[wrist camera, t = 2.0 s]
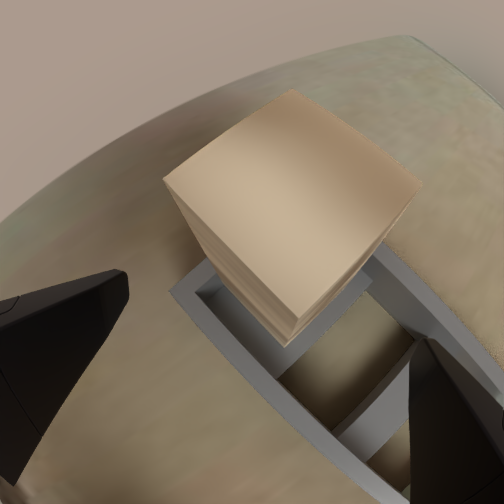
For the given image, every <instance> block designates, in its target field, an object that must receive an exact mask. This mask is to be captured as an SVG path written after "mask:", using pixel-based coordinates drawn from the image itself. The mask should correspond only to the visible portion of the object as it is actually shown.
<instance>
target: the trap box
mask: <svg viewBox="0 0 504 504" xmlns="http://www.w3.org/2000/svg"><path fill="white" fill-rule="evenodd" d="M365 290H366V291H367V292H368V293H369V294H370V295H371V296H372V297H373V298H374V299H375V300H376V301H377V302H378V303H379V304H380V305H381V306H382V307H383V308H384V309H385V310H386V311H387V312H388V313H389V314H390V315H391V316H392V317H393V318H394V319H395V320H396V321H397V322H398V323H399V324H400V325H401V326H402V327H403V328H404V329H405V330H406V331H407V332H408V333H409V334H410V335H411V336H412V337H413V338H414V339H415V341H414V342H413V344H412V345H411V346H410V347H409V349H408V350H407V351H406V352H405V353H404V355H403V356H402V357H401V358H400V360H399V361H398V362H397V363H396V364H395V365H394V367H393V368H392V369H391V370H390V371H389V372H388V374H387V375H386V376H385V377H384V378H383V379H382V380H381V381H380V383H379V384H378V385H377V386H376V387H375V388H374V389H373V390H372V391H371V392H370V393H369V394H368V396H367V397H366V398H365V399H364V400H363V401H362V402H361V403H360V404H359V405H358V406H357V407H356V408H355V409H354V410H353V411H352V412H351V413H350V414H349V415H348V416H347V417H346V418H345V419H344V420H343V421H342V422H341V423H340V424H339V425H338V426H337V427H335V428H334V429H333V430H332V431H330V430H329V429H328V428H327V427H326V426H325V425H324V424H323V423H322V422H321V421H320V420H318V419H317V418H316V417H315V416H314V415H313V414H312V413H311V412H310V411H309V410H308V409H307V408H306V407H305V406H304V405H303V404H302V403H301V402H300V401H299V400H298V399H297V398H296V397H295V396H294V395H293V394H292V393H291V392H290V391H289V390H288V389H287V388H286V387H285V386H284V385H283V384H282V383H281V382H280V381H279V380H278V379H277V378H278V377H279V376H281V375H282V374H283V373H284V372H285V371H286V370H287V369H288V368H289V367H290V366H291V365H292V364H293V363H295V362H296V361H297V360H298V359H299V358H300V357H301V356H302V355H303V354H304V353H305V352H306V351H307V350H308V349H309V348H310V347H311V346H312V345H313V344H314V343H315V342H316V341H317V340H318V339H319V338H320V337H321V336H322V335H323V334H324V333H325V332H326V331H327V330H328V329H329V328H330V327H331V326H332V325H333V324H334V323H335V322H336V321H337V320H338V319H339V318H340V317H341V316H342V315H343V314H344V313H345V311H346V310H347V309H348V308H349V307H350V306H351V305H352V304H353V303H354V302H355V301H356V300H357V299H358V297H359V296H360V295H361V294H362V293H363V292H364V291H365ZM169 292H170V294H171V295H172V296H173V297H174V299H175V300H176V301H177V302H178V303H179V305H180V306H181V307H182V308H183V309H184V311H185V312H186V313H187V314H188V315H189V317H190V318H191V319H192V320H193V321H194V322H195V324H196V325H197V326H198V327H199V328H200V329H201V331H202V332H203V333H204V334H205V335H206V336H207V338H208V339H209V340H210V341H211V342H212V343H213V344H214V345H215V347H216V348H217V349H218V350H219V351H220V352H221V353H222V354H223V355H224V357H225V358H226V359H227V360H228V361H229V362H230V363H231V364H232V365H233V366H234V367H235V369H236V370H237V371H238V372H239V373H240V374H241V375H242V376H243V377H244V378H245V379H246V380H247V381H248V382H249V383H250V384H251V386H252V387H253V388H254V389H255V390H256V391H257V392H258V393H259V394H260V395H261V396H262V397H263V398H264V399H265V400H266V401H267V402H268V403H269V404H270V405H271V406H272V407H273V408H274V409H275V410H276V411H277V412H278V413H279V414H280V415H281V416H282V417H283V418H284V419H285V420H286V421H287V422H288V423H289V424H290V425H291V426H292V427H294V428H295V429H296V430H297V431H298V432H299V433H300V434H301V435H302V436H303V437H304V438H305V439H306V440H307V441H308V442H309V443H311V444H312V445H313V446H314V447H315V448H316V449H317V450H318V451H319V452H320V453H322V454H323V455H324V456H325V457H326V458H327V459H328V460H329V461H330V462H332V463H333V464H334V465H335V466H336V467H337V468H338V469H340V470H341V471H342V472H343V473H344V474H345V475H347V476H348V477H349V478H350V479H351V480H353V481H354V482H355V483H356V484H357V485H359V486H360V487H361V488H362V489H363V490H365V491H366V492H367V493H368V494H370V495H371V496H372V497H373V498H375V499H376V500H377V501H379V502H380V503H381V504H410V484H409V485H408V486H407V487H406V488H405V489H404V490H403V491H402V492H400V491H398V490H397V489H396V488H395V487H394V486H392V485H391V484H390V483H389V482H388V481H386V480H385V479H384V478H383V477H382V476H380V475H379V474H378V473H377V472H376V471H375V470H373V469H372V468H371V467H370V466H369V465H368V464H367V463H365V462H366V461H367V460H369V459H370V458H371V457H372V456H373V455H374V454H375V453H376V452H377V451H378V450H379V449H380V448H381V447H382V446H383V445H384V444H385V443H386V442H387V441H388V440H389V439H390V438H391V436H392V435H393V434H394V433H395V432H396V431H397V430H398V429H399V428H400V427H401V426H402V425H403V423H404V422H405V421H406V420H407V419H408V418H409V413H408V398H409V362H410V359H411V356H412V354H413V353H414V351H415V349H416V347H417V345H418V343H419V341H420V340H421V339H422V338H424V337H426V338H433V339H435V340H437V341H438V342H439V343H440V344H441V345H442V346H443V347H444V348H445V349H446V350H447V351H448V352H449V353H450V354H451V355H452V356H453V357H454V358H455V359H456V360H457V361H458V362H459V363H460V364H461V365H462V366H463V367H464V368H465V369H466V370H467V371H468V372H469V373H470V374H471V375H472V376H473V377H474V378H475V379H476V380H477V381H478V382H479V383H480V384H481V385H482V386H483V387H484V388H485V389H486V390H487V391H488V392H489V393H490V394H491V395H492V396H493V397H494V398H495V399H496V401H497V402H498V403H499V404H500V405H501V406H502V407H503V410H504V372H503V370H502V369H501V368H500V366H499V365H498V364H497V363H496V362H495V360H494V359H493V358H492V357H491V355H490V354H489V353H488V352H487V351H486V349H485V348H484V347H483V346H482V345H481V343H480V342H479V341H478V340H477V339H476V338H475V337H474V335H473V334H472V333H471V332H470V331H469V330H468V329H467V327H466V326H465V325H464V324H463V323H462V322H461V321H460V320H459V318H458V317H457V316H456V315H455V314H454V313H453V312H452V311H451V310H450V309H449V308H448V306H447V305H446V304H445V303H444V302H443V301H442V300H441V299H440V298H439V297H438V296H437V295H436V294H435V293H434V292H433V291H432V290H431V289H430V288H429V287H428V285H427V284H426V283H425V282H424V281H423V280H422V279H421V278H420V277H419V276H418V275H417V274H416V273H415V272H414V271H413V270H412V269H411V268H410V267H409V266H408V265H407V264H406V263H404V262H403V261H402V260H401V259H400V258H399V257H398V256H397V255H396V254H395V253H394V252H393V251H392V250H391V249H390V248H389V247H388V246H387V245H386V244H385V243H384V242H381V243H380V244H379V246H378V247H377V248H376V249H375V251H374V252H373V253H372V255H371V256H370V257H369V258H368V260H367V261H366V262H365V263H364V265H363V266H362V267H361V268H360V270H359V271H358V272H357V273H356V275H355V276H354V277H353V278H352V280H351V281H350V282H349V283H348V284H347V286H346V287H345V288H344V289H343V290H342V291H341V292H340V293H339V294H338V295H337V296H336V297H335V298H334V299H333V300H332V301H331V302H330V303H329V304H328V306H327V307H326V308H325V309H324V310H323V311H322V312H321V313H320V314H319V315H318V316H317V317H316V318H315V319H314V320H313V321H312V322H311V323H310V324H309V325H308V326H306V327H305V328H304V329H303V330H302V331H301V332H300V333H299V334H298V335H297V336H296V337H295V338H294V339H293V340H292V341H291V342H290V343H289V344H288V345H287V346H286V347H285V348H283V347H282V346H281V345H280V344H279V343H278V341H277V340H276V339H275V338H274V337H273V336H272V335H271V334H270V333H269V332H268V331H267V330H266V329H265V328H264V327H263V326H262V325H261V324H260V323H259V322H258V321H257V320H256V319H255V318H254V317H253V316H252V314H251V313H250V312H249V311H248V310H247V309H246V308H245V307H244V306H243V305H242V304H241V303H240V302H239V301H238V300H237V299H236V297H235V296H234V295H233V294H232V293H231V292H230V291H229V290H228V289H227V288H226V287H225V286H224V284H223V283H222V281H221V279H220V278H219V276H218V274H217V273H216V271H215V269H214V268H213V266H212V264H211V263H210V261H209V259H208V257H206V258H205V259H204V260H203V261H202V262H201V263H199V264H198V265H197V266H196V267H195V268H194V269H193V270H191V271H190V272H189V273H188V274H187V275H186V276H185V277H184V278H182V279H181V280H180V281H179V282H178V283H177V284H176V285H174V286H173V287H172V288H171V289H170V290H169Z"/></svg>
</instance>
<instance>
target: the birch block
mask: <svg viewBox="0 0 504 504" xmlns="http://www.w3.org/2000/svg"><path fill="white" fill-rule="evenodd" d="M163 181H164V182H165V184H166V186H167V188H168V190H169V191H170V193H171V195H172V197H173V199H174V200H175V202H176V204H177V206H178V207H179V209H180V211H181V213H182V214H183V216H184V218H185V220H186V221H187V223H188V225H189V227H190V228H191V230H192V232H193V234H194V235H195V237H196V239H197V240H198V242H199V244H200V246H201V247H202V249H203V251H204V252H205V254H206V256H207V257H208V259H209V261H210V263H211V264H212V266H213V268H214V269H215V271H216V273H217V274H218V276H219V278H220V279H221V281H222V283H223V284H224V286H225V287H226V288H227V289H228V290H229V291H230V292H231V293H232V294H233V295H234V296H235V297H236V299H237V300H238V301H239V302H240V303H241V304H242V305H243V306H244V307H245V308H246V309H247V310H248V311H249V312H250V313H251V314H252V316H253V317H254V318H255V319H256V320H257V321H258V322H259V323H260V324H261V325H262V326H263V327H264V328H265V329H266V330H267V331H268V332H269V333H270V334H271V335H272V336H273V337H274V338H275V339H276V340H277V341H278V343H279V344H280V345H281V346H282V347H283V348H285V347H286V346H287V345H288V344H289V343H290V342H291V341H292V340H293V339H294V338H295V337H296V336H297V335H298V334H299V333H300V332H301V331H302V330H303V329H304V328H305V327H306V326H308V325H309V324H310V323H311V322H312V321H313V320H314V319H315V318H316V317H317V316H318V315H319V314H320V313H321V312H322V311H323V310H324V309H325V308H326V307H327V306H328V304H329V303H330V302H331V301H332V300H333V299H334V298H335V297H336V296H337V295H338V294H339V293H340V292H341V291H342V290H343V289H344V288H345V287H346V286H347V284H348V283H349V282H350V281H351V280H352V278H353V277H354V276H355V275H356V273H357V272H358V271H359V270H360V268H361V267H362V266H363V265H364V263H365V262H366V261H367V260H368V258H369V257H370V256H371V255H372V253H373V252H374V251H375V249H376V248H377V247H378V246H379V244H380V243H381V242H382V240H383V239H384V238H385V236H386V235H387V234H388V232H389V231H390V230H391V228H392V227H393V226H394V224H395V223H396V222H397V220H398V219H399V218H400V216H401V215H402V213H403V212H404V211H405V209H406V208H407V206H408V205H409V204H410V202H411V201H412V199H413V198H414V196H415V195H416V194H417V192H418V191H419V189H420V188H421V186H422V185H423V183H422V182H421V181H420V180H419V179H418V178H416V177H415V176H414V175H413V174H412V173H411V172H409V171H408V170H407V169H406V168H405V167H403V166H402V165H401V164H400V163H398V162H397V161H396V160H395V159H394V158H392V157H391V156H390V155H388V154H387V153H386V152H385V151H383V150H382V149H381V148H379V147H378V146H377V145H376V144H374V143H373V142H372V141H370V140H369V139H368V138H366V137H365V136H363V135H362V134H361V133H359V132H358V131H357V130H355V129H354V128H352V127H351V126H350V125H348V124H347V123H345V122H344V121H342V120H341V119H339V118H338V117H336V116H335V115H333V114H332V113H330V112H329V111H327V110H326V109H324V108H323V107H321V106H320V105H318V104H317V103H315V102H314V101H312V100H310V99H309V98H307V97H305V96H304V95H302V94H301V93H299V92H297V91H296V90H294V89H290V90H289V91H287V92H285V93H284V94H282V95H280V96H279V97H277V98H276V99H274V100H272V101H271V102H269V103H268V104H266V105H265V106H263V107H261V108H260V109H258V110H257V111H255V112H254V113H252V114H251V115H249V116H248V117H246V118H245V119H243V120H242V121H240V122H239V123H237V124H236V125H234V126H233V127H232V128H230V129H229V130H227V131H226V132H224V133H223V134H221V135H220V136H219V137H217V138H216V139H214V140H213V141H212V142H210V143H209V144H208V145H206V146H205V147H203V148H202V149H201V150H199V151H198V152H197V153H195V154H194V155H193V156H191V157H190V158H189V159H187V160H186V161H185V162H183V163H182V164H181V165H179V166H178V167H177V168H176V169H174V170H173V171H172V172H170V173H169V174H168V175H167V176H165V177H164V178H163Z"/></svg>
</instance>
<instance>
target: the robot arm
mask: <svg viewBox="0 0 504 504" xmlns="http://www.w3.org/2000/svg"><path fill="white" fill-rule="evenodd" d="M128 300H129V286H128V276H127V273H126V272H124V271H121V270H117V269H112V270H109V271H105V272H102V273H98V274H94V275H91V276H87V277H83V278H80V279H76V280H73V281H69V282H66V283H62V284H58V285H55V286H51V287H48V288H44V289H41V290H37V291H34V292H30V293H27V294H24V295H21V296H17V297H13V298H10V299H6V300H2V301H0V476H2V477H3V478H4V479H5V480H6V481H7V482H8V483H10V484H11V485H12V486H14V485H15V484H16V482H17V481H18V479H19V477H20V475H21V473H22V472H23V470H24V468H25V466H26V464H27V463H28V461H29V459H30V457H31V456H32V454H33V452H34V450H35V449H36V447H37V445H38V444H39V442H40V440H41V439H42V436H43V435H44V433H45V432H46V430H47V428H48V427H49V425H50V424H51V422H52V420H53V419H54V417H55V415H56V414H57V412H58V411H59V409H60V408H61V406H62V404H63V403H64V401H65V400H66V398H67V397H68V395H69V394H70V392H71V390H72V389H73V387H74V386H75V384H76V383H77V381H78V380H79V378H80V377H81V375H82V374H83V372H84V371H85V369H86V368H87V366H88V365H89V363H90V362H91V361H92V359H93V358H94V356H95V355H96V353H97V352H98V350H99V349H100V348H101V346H102V345H103V343H104V342H105V340H106V339H107V337H108V336H109V334H110V332H111V330H112V329H113V327H114V325H115V323H116V321H117V320H118V318H119V316H120V314H121V313H122V311H123V309H124V307H125V306H126V304H127V302H128ZM408 413H409V431H410V504H504V410H503V407H502V406H501V405H500V404H499V403H498V402H497V401H496V399H495V398H494V397H493V396H492V395H491V394H490V393H489V392H488V391H487V390H486V389H485V388H484V387H483V386H482V385H481V384H480V383H479V382H478V381H477V380H476V379H475V378H474V377H473V376H472V375H471V374H470V373H469V372H468V371H467V370H466V369H465V368H464V367H463V366H462V365H461V364H460V363H459V362H458V361H457V360H456V359H455V358H454V357H453V356H452V355H451V354H450V353H449V352H448V351H447V350H446V349H445V348H444V347H443V346H442V345H441V344H440V343H439V342H438V341H437V340H435V339H433V338H426V337H424V338H422V339H421V340H420V341H419V343H418V345H417V347H416V349H415V351H414V353H413V354H412V356H411V359H410V362H409V398H408Z"/></svg>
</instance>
